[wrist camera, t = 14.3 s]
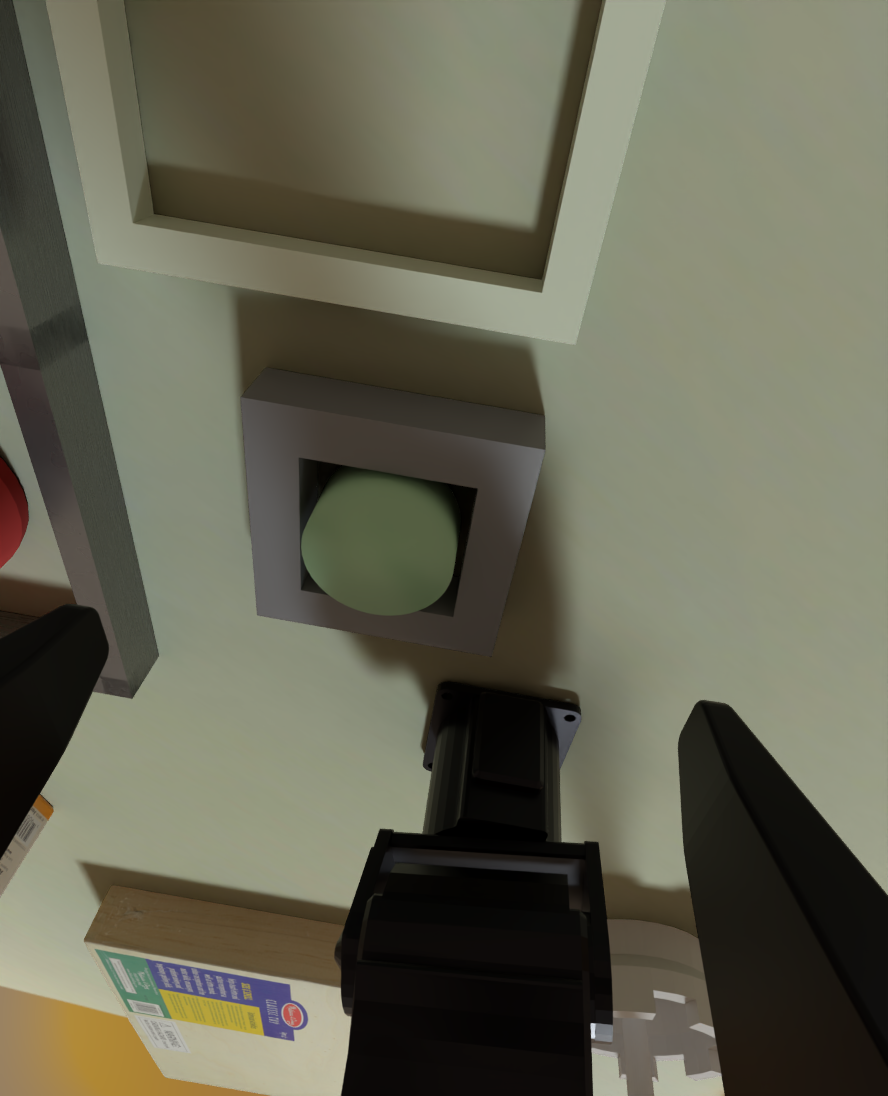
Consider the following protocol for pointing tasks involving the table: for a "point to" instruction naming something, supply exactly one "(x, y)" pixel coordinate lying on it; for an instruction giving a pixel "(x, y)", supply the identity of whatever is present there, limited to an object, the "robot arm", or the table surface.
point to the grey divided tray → (61, 388)
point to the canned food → (11, 513)
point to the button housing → (398, 448)
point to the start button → (382, 540)
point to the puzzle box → (226, 991)
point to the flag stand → (658, 1004)
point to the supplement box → (24, 840)
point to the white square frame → (331, 270)
